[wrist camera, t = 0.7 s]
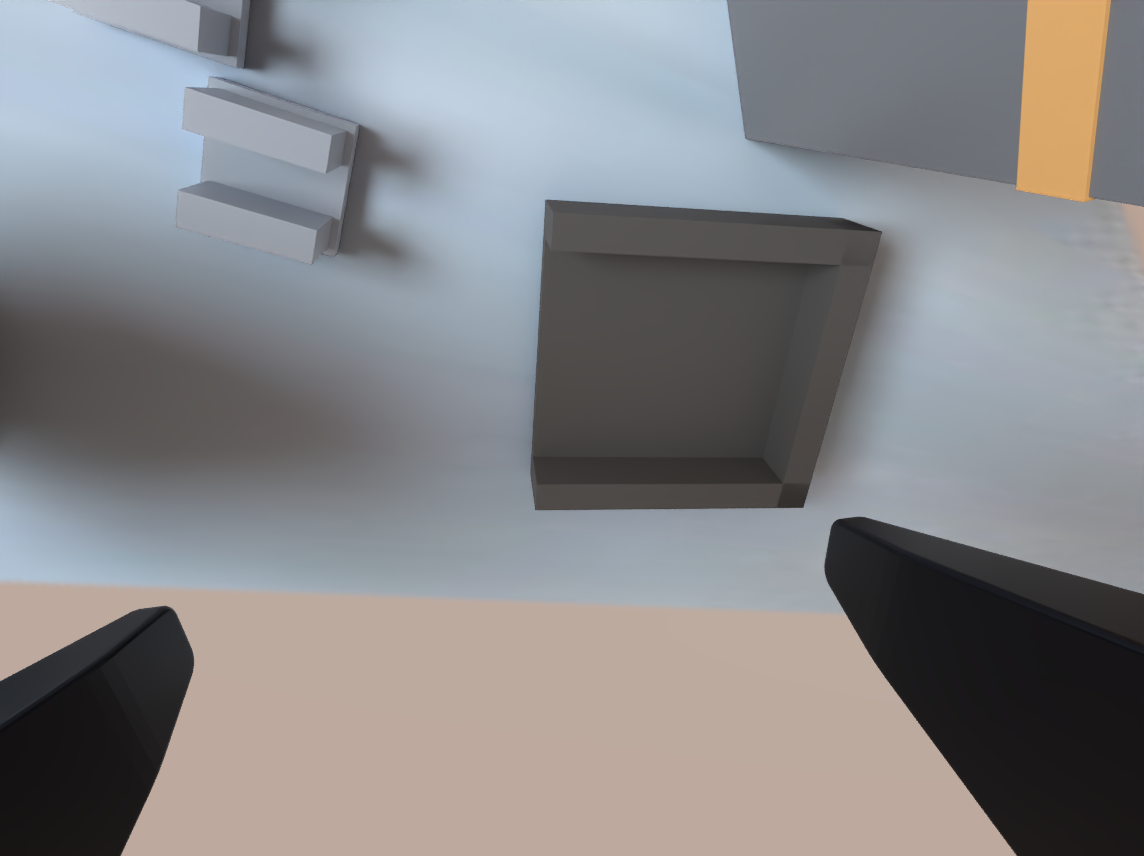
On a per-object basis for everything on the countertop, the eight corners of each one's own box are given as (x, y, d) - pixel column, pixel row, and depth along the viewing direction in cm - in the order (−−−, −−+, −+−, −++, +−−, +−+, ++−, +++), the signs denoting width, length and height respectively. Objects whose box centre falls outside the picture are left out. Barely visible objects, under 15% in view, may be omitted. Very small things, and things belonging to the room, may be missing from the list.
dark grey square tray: (530, 473, 23) (535, 510, 21) (545, 199, 19) (553, 212, 17) (776, 473, 25) (803, 507, 23) (842, 218, 20) (882, 231, 18)
